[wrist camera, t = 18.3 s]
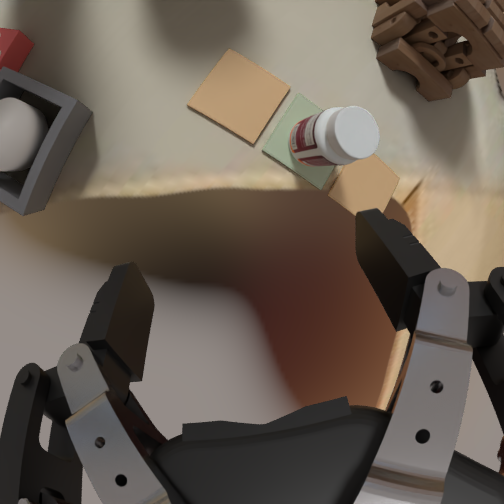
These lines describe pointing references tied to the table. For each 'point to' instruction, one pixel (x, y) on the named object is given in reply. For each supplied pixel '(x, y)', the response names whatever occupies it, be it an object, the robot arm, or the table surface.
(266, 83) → the track
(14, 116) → the dome plunger
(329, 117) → the pill bottle
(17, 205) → the grey open box
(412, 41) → the wooden puzzle
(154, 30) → the table surface
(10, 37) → the red die
